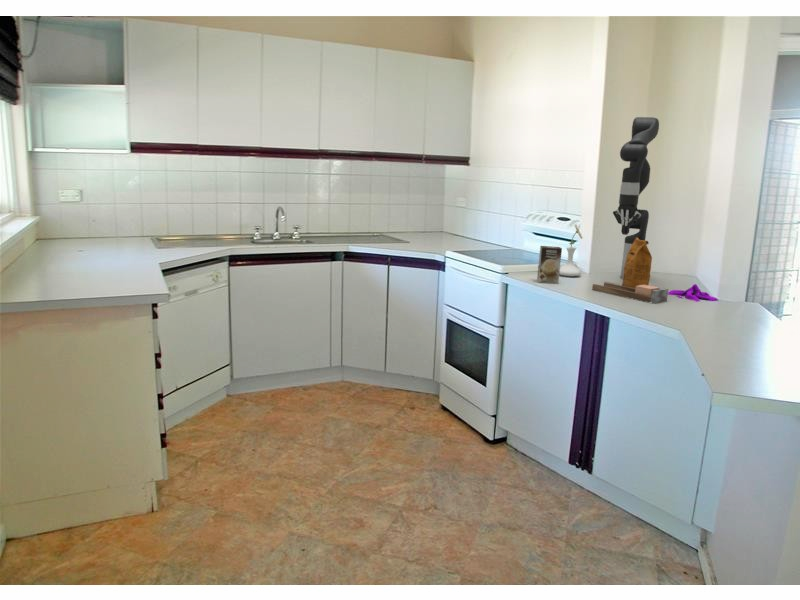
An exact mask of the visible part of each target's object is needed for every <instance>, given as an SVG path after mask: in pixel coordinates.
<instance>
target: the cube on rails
mask: <svg viewBox="0 0 800 600" xmlns="http://www.w3.org/2000/svg"><path fill="white" fill-rule="evenodd" d="M591 288H592V289H591V290H592V291H595V292H600V293H605V294H608V295H614V296H617V295H618V297H622V296H623V297H622V298H626V297H628V298H627V299H631V298H633V300H635V299H637V300H636V301H640V300H642V301H641V302H644V301H647V302H646V303H649V302H652V303H651V304H653V303H654V304H659V303H664V302H667V301H668V293H669V288H659V289H658V290H653V291H652V293H651V296H649V295H644V294H640V293H635V289H636V288H631V287H626V286H623V285H622V284H616V283H610V282H607V281H605V282H603V285H602V284H596V283H594V284H592V287H591ZM658 302H659V303H658Z"/></svg>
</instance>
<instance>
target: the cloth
mask: <svg viewBox="0 0 800 600" xmlns="http://www.w3.org/2000/svg"><path fill="white" fill-rule="evenodd" d="M668 295H669V296H676V297H677V298H678V299H683V297H684V299H686V300H690V301H694V302H698V303H699V302H701V300H705V301H708V302H715V301H719V299H718V298H717V297H714V296H711V295H710V294H709V293H708V292H706V291H705V292H704V291H701V289H700V288H699V286H698V284H696V283H694V284H692V286H691V287H690V288H688V289H686V290H681V289H679V290H677V289H673V290H670V291H668Z"/></svg>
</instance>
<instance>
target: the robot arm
mask: <svg viewBox="0 0 800 600" xmlns="http://www.w3.org/2000/svg"><path fill="white" fill-rule="evenodd" d="M659 121H660V120H659V118H656V117H653V116H652V117H650V116H649V117H647V116H645V117H643V116H640V117H639V116H638V117H635V118H634V119H633V120H632V126H631V138H630V140H629V141H628V142H625V143H624V144H623V146H622V147H620V151H619V156H620V158H621V160H622V161H624V162H626V163H627V162H629V167H625V168H623V169H622V177H621V184H620V190H619V199H618V204H619V205H618V207H617V209H616V210H614V211H613V212H612V214H613V216H614V218H615V219H616V222H617V224H620V225H621V232H620V233H621V234H622V235H623V236H624V235H626V236H625V237H624V243H623V252H622V261H621V270H620V279H622V280H623V275H624V266H625V262H626V258H627V254H628V252H629V250H630V248H631V246H632V244H633V242H634V241H635V239H636V238H638V239H639V240H645V241H646V237H647V230H648V224H649V219H650V214H649V211H648V210H647V209H639V208H638V205H639V196H640V195H641V193H643V191H644V190H645V189H646V188H647V186H648V184H649V183H650V177H651V165H650V163H649V162H648V160H647V157H648V153H649V151H648V150H649V149H648V144H650V143H651V142H652V141H653V140H654V139H655V138H656V137H657V136H658V134H659V129H660V128H659V127H660V122H659ZM630 229H631V230H632V229H633V230H635V229H636V230H639V231H638V232H636V233H633V234H630V235H629V233H630Z"/></svg>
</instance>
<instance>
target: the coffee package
mask: <svg viewBox="0 0 800 600" xmlns="http://www.w3.org/2000/svg"><path fill="white" fill-rule="evenodd" d="M648 245H649V241H648V240H646V239H645V240H639V239H638V238H636V239H635V241H634V242H633V244H632V246H631V248H630V250H629V252H628V254H627V258H626V262H625V266H624V275H623V279H622V284H621V286H626V287H631V288H636V286H639V285H649V284H650V280H651V271H652V269H651V268H652V260H653V257H652V255H651V252H650V250H649V247H648ZM649 286H650V285H649Z"/></svg>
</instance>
